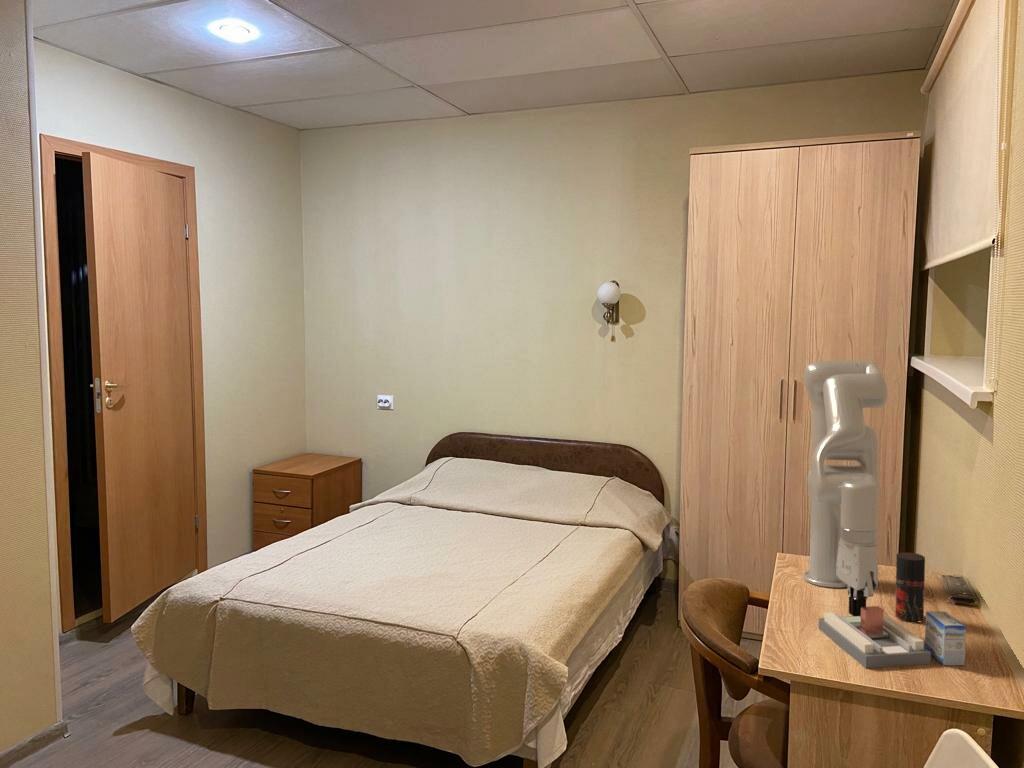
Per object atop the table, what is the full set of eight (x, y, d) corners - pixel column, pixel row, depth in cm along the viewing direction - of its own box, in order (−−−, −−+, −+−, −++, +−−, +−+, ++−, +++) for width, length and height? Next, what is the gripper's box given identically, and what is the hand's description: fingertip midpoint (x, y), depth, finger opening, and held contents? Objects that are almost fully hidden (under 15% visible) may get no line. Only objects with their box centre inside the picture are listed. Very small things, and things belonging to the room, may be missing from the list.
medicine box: (923, 649, 166) (925, 610, 165) (945, 649, 166) (946, 610, 165) (943, 666, 158) (944, 625, 157) (965, 666, 158) (966, 625, 157)
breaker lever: (854, 629, 170) (855, 604, 170) (876, 627, 171) (876, 603, 170) (867, 638, 165) (867, 613, 165) (889, 637, 166) (889, 612, 165)
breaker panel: (818, 628, 178) (818, 610, 177) (876, 625, 179) (876, 607, 179) (865, 668, 158) (866, 648, 157) (930, 663, 159) (930, 643, 159)
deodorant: (926, 623, 179) (928, 560, 178) (899, 622, 180) (900, 559, 179) (918, 613, 185) (920, 552, 184) (892, 612, 186) (893, 551, 185)
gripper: (826, 527, 179) (825, 603, 181) (860, 546, 164) (859, 628, 166) (856, 525, 180) (855, 601, 182) (894, 544, 165) (892, 626, 167)
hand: (857, 614), depth 174 cm, fingers closed
